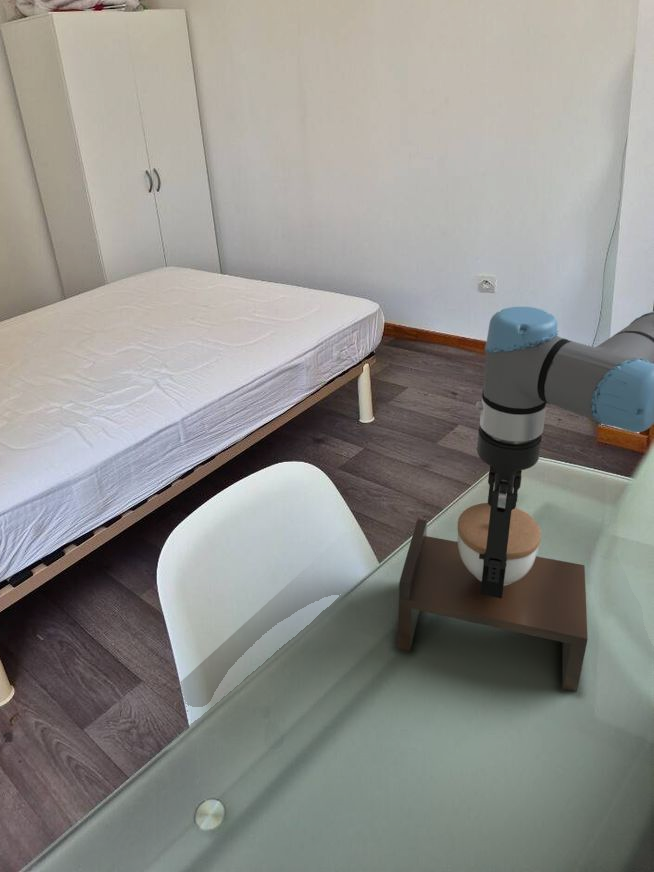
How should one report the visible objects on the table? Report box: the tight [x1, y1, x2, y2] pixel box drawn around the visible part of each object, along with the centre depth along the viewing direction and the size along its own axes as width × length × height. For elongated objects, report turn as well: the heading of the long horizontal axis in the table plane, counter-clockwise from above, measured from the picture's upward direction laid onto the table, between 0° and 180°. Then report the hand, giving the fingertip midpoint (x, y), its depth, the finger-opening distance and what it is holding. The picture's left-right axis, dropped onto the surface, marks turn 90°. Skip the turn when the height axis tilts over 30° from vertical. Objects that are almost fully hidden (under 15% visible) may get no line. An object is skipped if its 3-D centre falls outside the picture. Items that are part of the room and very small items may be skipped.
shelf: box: [396, 518, 589, 693], centre depth 98 cm, size 24×14×13 cm, turn 70°
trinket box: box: [457, 502, 542, 586], centre depth 94 cm, size 11×11×9 cm
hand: (494, 565), depth 95 cm, fingers closed on trinket box, 11 cm apart
